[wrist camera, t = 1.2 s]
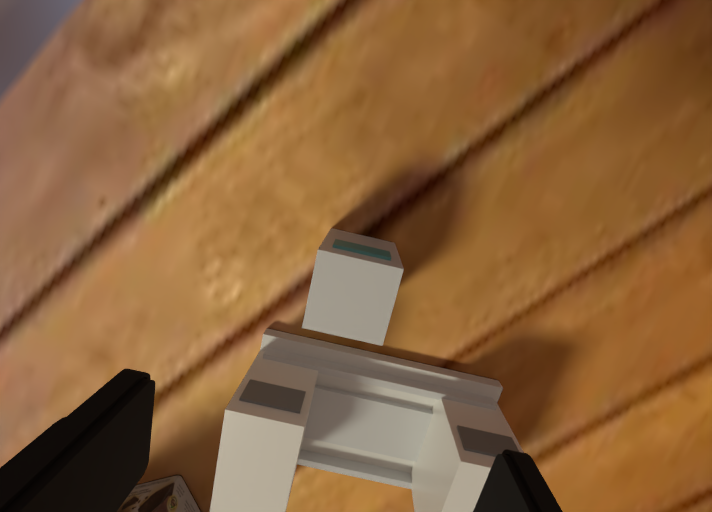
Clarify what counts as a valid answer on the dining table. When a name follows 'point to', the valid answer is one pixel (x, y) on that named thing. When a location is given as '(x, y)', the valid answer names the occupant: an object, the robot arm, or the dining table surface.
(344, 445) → the white channel bracket
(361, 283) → the block
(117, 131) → the dining table surface
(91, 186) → the dining table surface
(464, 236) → the dining table surface
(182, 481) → the coffee box
